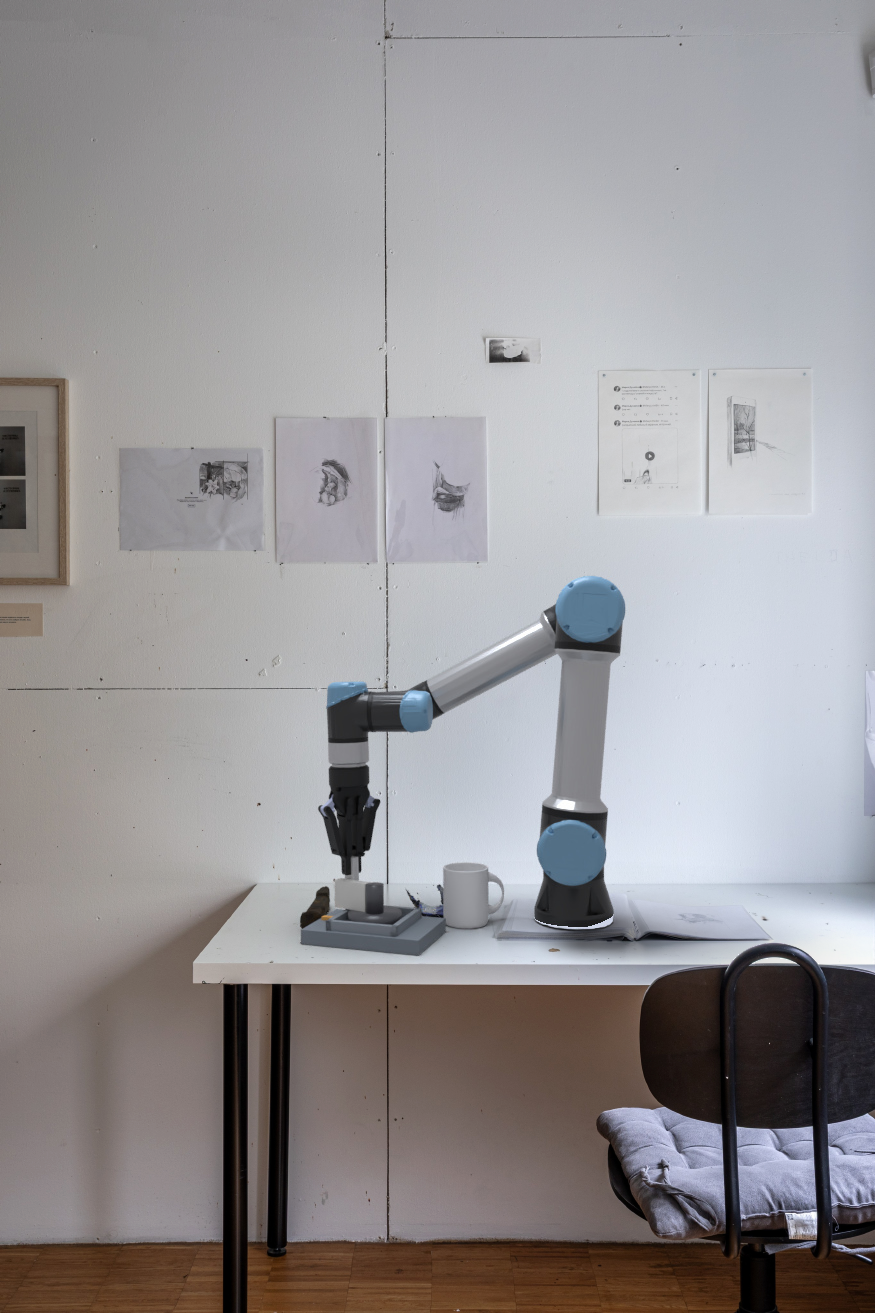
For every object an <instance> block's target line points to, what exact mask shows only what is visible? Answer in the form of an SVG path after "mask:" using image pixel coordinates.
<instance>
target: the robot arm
mask: <svg viewBox="0 0 875 1313" xmlns="http://www.w3.org/2000/svg"><path fill="white" fill-rule="evenodd" d="M560 591H561V592H560V593H559V594H558V596H557V599H556V603H555V604H554V605H552V606H550V607H549V608H547V609H545V610H542V611H541V614H540V616H539V619H537V620H535V621H533V622H531V623H530V624H528V625H525V626H524V627H523V628H521V629H518V630H517V631H515V632H513V633H511V634H509V635H508V636H505V637H504V638H502V639H500V640H498V641H496V642H495V643H492V644H491V645H489V646H487V647H486V648H483V649H482V650H480V651H478V652H476V653H474V654H472V655H471V656H468V657H467V658H464V659H463V660H461V661H459V662H458V663H455V664H454V665H452V666H450V667H448V668H446V669H445V670H443V671H441V672H438V673H437V674H435V675H433V676H432V677H431V676H430V678H427V679H426V680H424V681H422V682H420V683H418V684H416V685H414V686H413V687H411V688H409V689H406V690H395V691H394V690H393V691H372V690H371V691H370V690H369V689H368V685H367V683H366V682H365V681H335V682H331V683H329V684H328V686H327V689H326V691H327V694H326V705H325V706H326V707H325V709H326V719H327V751H328V752H327V754H328V755H327V757H328V763H329V765H330V764H331V765H330V766H329V768H328V785H329V787H330V791H329V795H328V800H327V801H326V802H325V803H324V804H323V805H322V804H321V805H319V806H318V808H317V810H318V813H319V814H320V815H321V817H322V818H323V823H324V827H325V830H326V835H327V839H328V843H329V847H330V851H331V854H332V855H335V856H339V857H340V860H341V861H340V862H341V863H340V866H341V873H342V875H344V878H345V879H352V880H358V881H360V874H361V872H362V857H365V855H366V852H369V851H370V849H371V846H372V840H373V832H374V830H375V829H374V826H375V821H376V816H377V810H379V807H380V804H381V800H380V799H379V798H375V797H373V796H372V795H371V792H370V789H369V786H368V785H369V784H370V766H369V765H368V764H367V763H368V762H369V761H370V750H369V749H370V748H369V733H410V734H411V733H412V734H413V733H419V732H427V731H429V730H430V729H431V727H432V725H433V720H435V719H436V718H439V717H441V716H442V715H444V714H446V713H448V712H450V711H452V710H453V709H455V708H457V707H459V706H461V705H463V704H465V703H467V702H469V701H470V700H472V699H474V698H476V697H478V696H480V695H482V694H484V693H486V692H488V691H489V690H492V689H493V688H495V687H497V686H499V685H501V684H503V683H504V682H507V681H509V680H511V679H513V678H514V677H516V676H519V674H521V673H522V674H523V672H526V671H527V670H530V669H532V668H533V667H535V666H538V664H541V663H543V662H545V661H547V660H548V659H550V658H552V657H554V656H556V655H557V656H558V657H559V658H560V660H561V670H560V682H559V684H560V685H559V696H558V709H557V719H556V720H557V722H556V732H555V733H556V735H555V747H554V760H553V770H552V771H553V773H552V783H551V784H552V786H551V794H550V795H549V796H547V798H545V799H544V800H543V801H542V804H541V815H540V816H541V817H540V830H539V837H538V838H539V839H538V840H537V844H536V856H537V860H538V862H539V864H540V867H541V869H542V872H543V873H542V874H543V876H542V883H541V885H540V888H539V892H538V895H537V897H536V902H535V904H534V911H533V912H534V913H533V914H534V917H535V919H536V920H538V921H540V922H543V923H546V924H551V925H557V926H568V927H588V926H592V925H595V924H598V923H601V922H603V921H605V920H607V919H609V918H611V917H612V916H613V914H614V915H615V913H614V912H615V911H614V906H613V904H612V901H611V897H610V895H609V892H608V889H607V885H606V882H605V863H606V861H607V848H606V842H607V841H606V839H607V827H608V814H609V807H608V806H607V805H606V804H605V803H604V801H602V799H601V795H602V793H601V791H602V780H603V770H604V769H603V767H604V756H605V753H604V752H605V743H606V741H605V739H606V729H607V718H608V717H607V714H608V705H609V704H608V703H609V702H608V700H609V690H610V676H611V667H612V666H611V665H612V663H613V662H614V661H615V660H617V659H618V658H619V657H620V656H621V651H622V650H621V649H622V646H621V645H622V637H623V623H624V619H625V617H626V602H625V598H624V596H623V594H622V592H621V590H620V589H619V588H618V586H617V585H615V583H613V582H612V581H610V580H609V579H607V578H604V577H601V576H596V575H586V576H585V575H583V576H581V577H580V576H579V577H577V578H574V579H573V580H571V581H569V583H567V584H566V585H565V586H564V587H563V588H562V589H561V590H560ZM335 813H336V814H335ZM535 919H534V920H535Z"/></svg>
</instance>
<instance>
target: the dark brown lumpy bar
mask: <svg viewBox="0 0 875 1313" xmlns="http://www.w3.org/2000/svg"><path fill="white" fill-rule="evenodd" d="M330 891H331V890H330V888H329V887H328V886H327V885H326V886H322V887H320V888H319V889H318V890H316V892H315V898H314V900H313V901H312V903H311V904H310V906H309V907H308V908H307V909H306V911H304V912H302V913H301V916H300V918H299V924H300V925H299V927H300V928H301V929H303V928H305V927H306V926H308V925H310V924H312V923H313V922H315V921H317V920H319V919H320V918H321V917H322V916H324V915H327V914H328V913H330V906H331V904H330V903H331V899H330V895H331V894H330V893H331V892H330ZM327 912H328V913H327Z"/></svg>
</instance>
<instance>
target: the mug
mask: <svg viewBox="0 0 875 1313" xmlns="http://www.w3.org/2000/svg"><path fill="white" fill-rule="evenodd" d="M442 869H443V870H442V872H443V875H442V877H443V878H442V883H443V886H442V887H443V915H444V918H446V926H448V927H450V928H453V929H454V928H455V929H465V930H469V929H471V930H472V929H478V928H482V927H485V926H486V925H487V924H488V922H489V916H490V915H492V914H494V913H496V912H497V911H498V910H500V908H501V906H502V905H503V902H504V899H505V886H504V883H503V882H502V880H501V879H500V878H499V877H498V875H496V874H494V873H492V872H490V871H489V865H486V864H485V863H478V862H467V861H466V862H465V861H463V862H453V863H448V864H445V865H443V867H442ZM490 882H492V883H495V884H497V885H498V886H499V887H500V890H501V898H500V899H499V901H498V902H497V903H496V904H489V902H490V900H489V883H490Z"/></svg>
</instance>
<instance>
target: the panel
mask: <svg viewBox="0 0 875 1313" xmlns="http://www.w3.org/2000/svg"><path fill="white" fill-rule="evenodd" d="M384 906H388V905H385V904H384ZM390 906H391V907H395V908H398V909H400V910H401V919H400V920H399V921H397V922H396V923H395V924H393V925H387V924H375V923H364V922H353V921H348V912H349V911H350V909H343V908H339V909H338V908H336V909H334V910H332V911H331V912H328V913H326V914H325V915H324V916H322V917H321V918H320V919H319V920H317V921H315V922H313V923H312V924H310V925H308V926H306V927H305V928H303V929H302V928H301V929H300V944H301V945H307V946H308V945H309V946H317V947H319V946H320V947H329V948H339V949H350V950H359V951H370V952H378V953H388V954H400V955H410V956H420V955H422V953H423V952H424V951H425V950H426V949H428V948H429V947H430V946H431V945H432V944H433V943H435V942H436V941H437V940H438V939H439V938H440V937H442V936H443V935H444V934H445V933H446V932H447V927H446V926H447V925H446V918H441V917H437V916H427V917H425V916H422V908H416V907H407V906H396V905H390Z"/></svg>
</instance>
